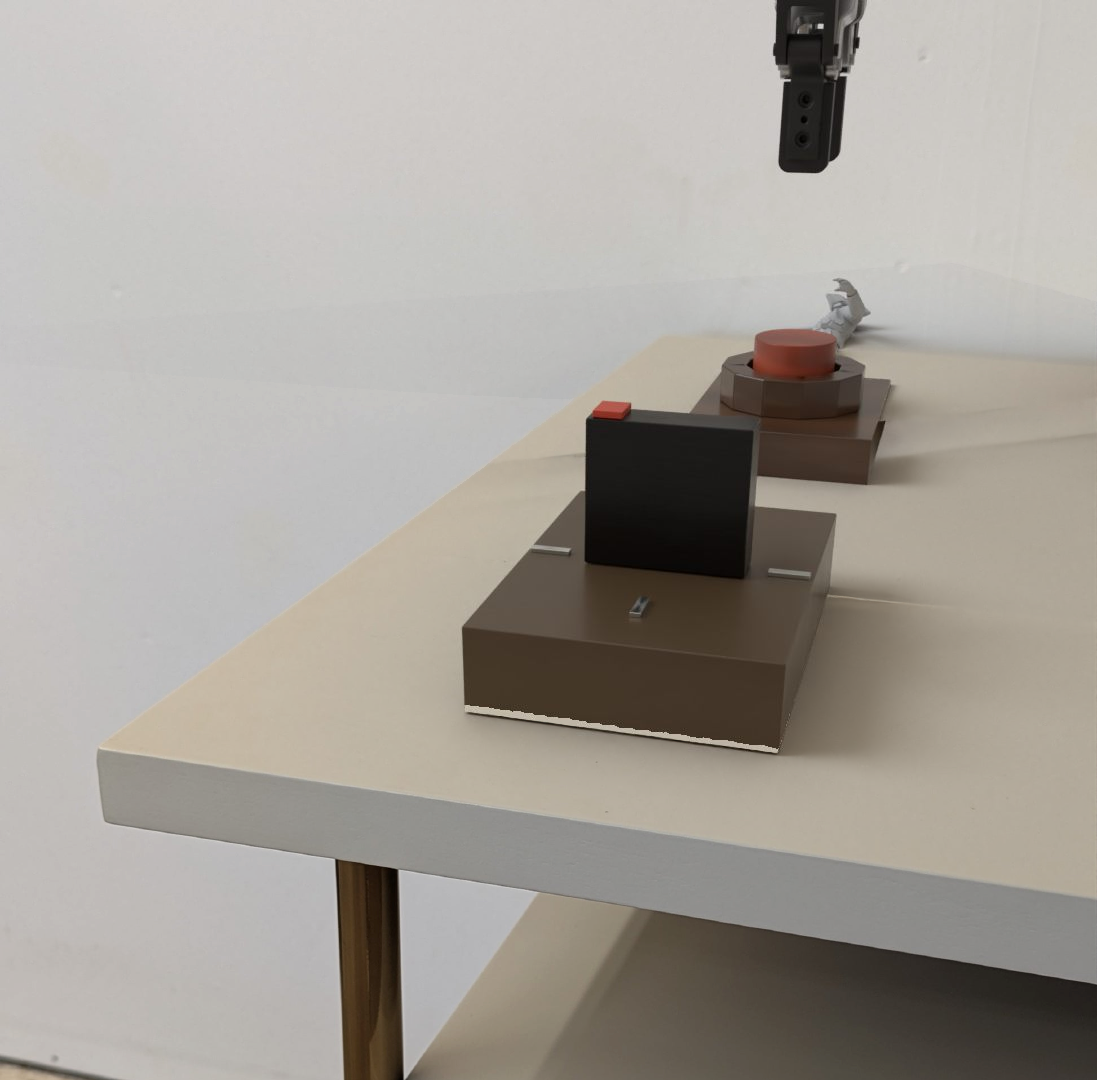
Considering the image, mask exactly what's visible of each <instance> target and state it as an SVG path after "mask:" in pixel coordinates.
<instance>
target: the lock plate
mask: <svg viewBox="0 0 1097 1080" xmlns="http://www.w3.org/2000/svg"><path fill="white" fill-rule="evenodd" d="M836 525H837V513H834V512H826V511H825V512H824V511H815V510H801V509H791V508H780V507H768V506H756V505H755V513H754V527H753V541H752V556H751V563H750V565H749V567H748V569H747V572H746V574H745V576H744V578H735V577H725V576H716V575H706V574H696V573H686V572H676V571H666V570H656V569H647V568H637V567H627V566H617V565H607V564H597V563H588V562H585V561H584V541H585V490H579V492H578V493H577V494H576V495H575V496H574V497H573V498H572V499H571V500H570V502H569V503H568V504H567V505H566V506H565V508H564V509H563V510H562V511H561V512H560V513H559V515H557V517H556V518H555V519H554V520H553V522H551V523H550V525H549V526H548V527H547V528H546V529H545V531H544V532H543V533H542V534H541V535H540V536H539V537H538V539H537V540H536V541H535V542H534V543H533V544H532V546H531V547H530V548H529V549H528V550H527V551H526V552H525V553H524V554H523V556H522V557H521V558H520V559H519V560H518V561H517V562H516V564H515V565H514V566H513V567H512V569H510V571H509V572H508V573H507V574H506V575H505V577H503V578H502V580H501V581H500V582H499V583H498V584H497V585H496V587H495V588H494V589H493V590H492V591H491V592H490V594H489V595H488V596H487V597H486V598H485V599H484V600H483V602H481V604H480V605H479V606H478V607H477V608H476V610H475V611H474V612H473V613H472V614H471V616H470V617H469V618H468V619H467V620H466V621H465V622H464V623H463V624H462V626H461V646H462V647H461V650H462V677H463V679H462V680H463V704H464V705H470V706H479V707H489V708H494V709H500V710H510V711H512V712H513V711H521V712H524V713H533V714H534V715H545V716H547V717H558V718H570V719H572V720H579V721H586V722H587V723H600V724H602V725H615V726H617V727H619V728H633V729H635V730H649V731H651V732H663V733H664V732H667V733H669V734H681V735H687V736H690V737H696V738H703V737H704V738H710V739H712V740H728V741H734V742H737V743H743V744H749V745H765V746H768V747H772V748H776V749H778V748H779V746H780V743H781V740H782V737H783V734H784V735H785V733H784V731H785V732H786V730H785V728H786V729H787V727H786V724H787V721H788V722H789V720H788V718H789V719H790V717H789V714H790V711H791V709H792V710H793V707H794V704H795V701H794V699H795V700H796V698H795V697H797V694H798V691H799V688H800V685H799V684H801V681H802V678H803V675H804V672H803V671H805V668H806V664H807V662H808V659H809V655H810V652H811V649H812V646H813V642H814V639H815V636H816V632H817V629H818V626H819V623H820V619H821V616H822V613H823V610H824V606H825V603H826V600H827V597H828V594H829V590H830V586H831V577H832V567H833V558H834V556H833V555H834V546H835V537H836V527H837V526H836ZM800 680H801V681H800ZM798 687H799V688H798ZM797 690H798V691H797ZM793 703H794V704H793ZM464 705H463V706H464ZM792 706H793V707H792ZM791 712H792V711H791ZM790 715H791V714H790ZM787 725H788V724H787ZM783 738H784V737H783ZM782 741H783V740H782ZM781 744H782V743H781ZM780 747H781V746H780Z"/></svg>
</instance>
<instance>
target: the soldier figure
mask: <svg viewBox="0 0 1097 1080" xmlns="http://www.w3.org/2000/svg"><path fill="white" fill-rule="evenodd" d="M832 282H837V283H838V287H837V288H835V289H834V290H833V291H834V292H841V293H846V295H845V296H846V297H845V296H843V295H841V294H838V293H826V294H825V298H826V300H827V303H828V306H829V311H830V312H828V313H827V314H826V315H825V316H823V317H822V318H820V319H819V321H818V322H817V323H816V324H815V325H814V326H813V328H812V330H814V331H820V332H825V333H828V334H831V335H833V336H835V337H836V338H837V346H836V353H838V352H839V349H841V350H843V349H845V346H844V345H845V342H846V341H848V340H851V336H852V335H853V333H854V332H855V330H856V328H857V327H858V325H859V324H860V323H861V322H862V320H863V318H865V317H868V316H870V315H871V310H869V309H868V308H866V306H865V303H864V302H863V300H862V297H861V296H860V294H859V292H858V289H856V288H855V287H854V285H853V284H852V283H851V282H850V281H849V280H848V279H845V278H842V277H838V278H833V279H832Z"/></svg>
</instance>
